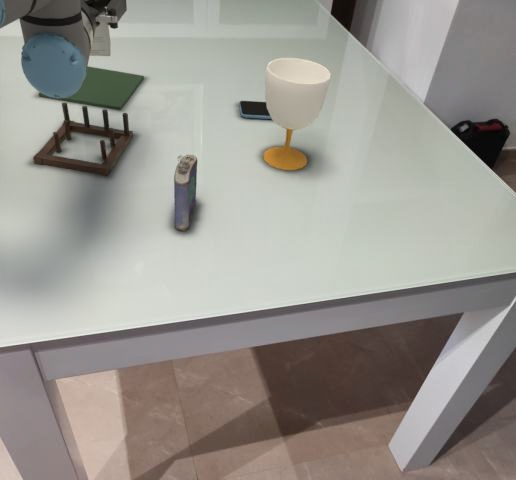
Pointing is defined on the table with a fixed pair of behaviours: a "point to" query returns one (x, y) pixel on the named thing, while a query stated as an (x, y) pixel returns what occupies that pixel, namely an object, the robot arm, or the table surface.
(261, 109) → the smartphone
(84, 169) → the rack
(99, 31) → the cosmetic box
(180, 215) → the flask
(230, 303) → the table surface
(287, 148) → the cup
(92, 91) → the mat
